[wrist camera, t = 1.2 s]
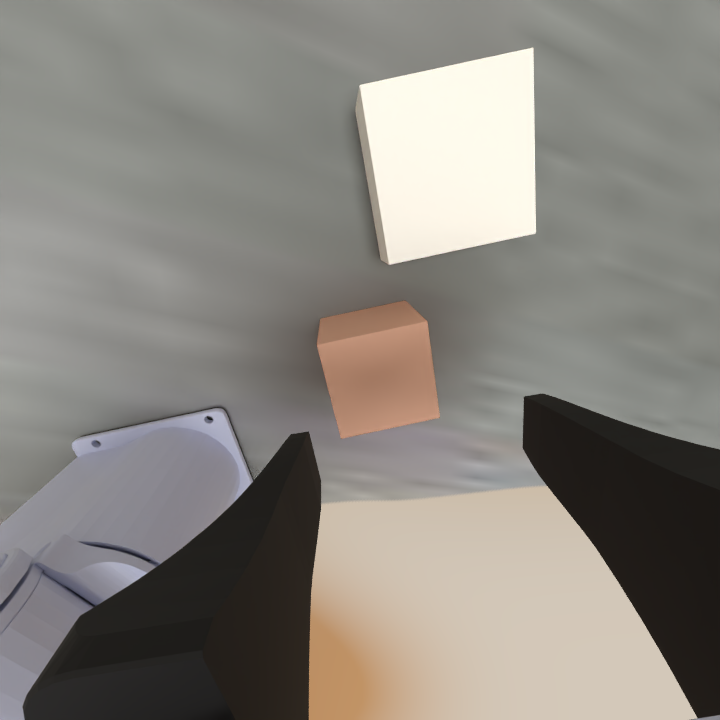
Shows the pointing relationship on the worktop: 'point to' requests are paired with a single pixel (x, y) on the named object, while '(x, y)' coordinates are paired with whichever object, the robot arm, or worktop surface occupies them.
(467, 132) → the cream plinth
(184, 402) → the worktop surface
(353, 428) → the terracotta cube
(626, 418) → the worktop surface
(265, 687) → the robot arm
